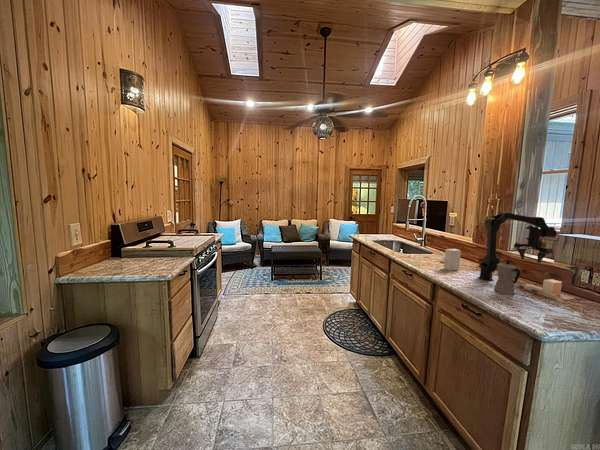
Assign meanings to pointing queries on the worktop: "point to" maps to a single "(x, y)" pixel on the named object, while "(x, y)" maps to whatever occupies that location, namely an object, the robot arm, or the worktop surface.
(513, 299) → the worktop surface
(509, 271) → the coffeepot
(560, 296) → the shelf board
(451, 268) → the skincare box
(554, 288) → the carton
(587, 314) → the worktop surface
